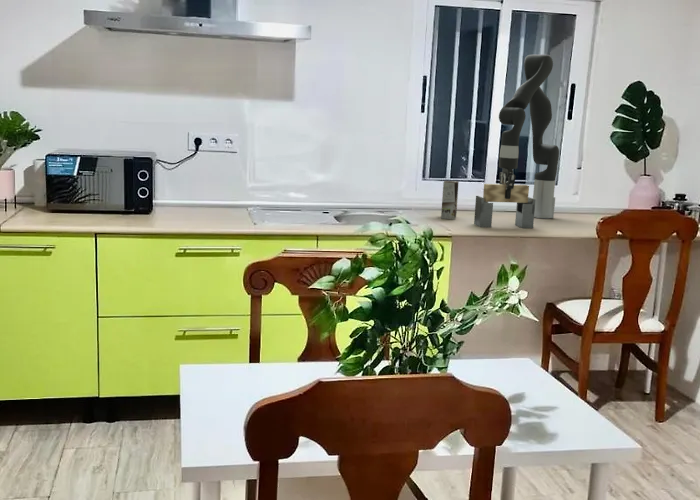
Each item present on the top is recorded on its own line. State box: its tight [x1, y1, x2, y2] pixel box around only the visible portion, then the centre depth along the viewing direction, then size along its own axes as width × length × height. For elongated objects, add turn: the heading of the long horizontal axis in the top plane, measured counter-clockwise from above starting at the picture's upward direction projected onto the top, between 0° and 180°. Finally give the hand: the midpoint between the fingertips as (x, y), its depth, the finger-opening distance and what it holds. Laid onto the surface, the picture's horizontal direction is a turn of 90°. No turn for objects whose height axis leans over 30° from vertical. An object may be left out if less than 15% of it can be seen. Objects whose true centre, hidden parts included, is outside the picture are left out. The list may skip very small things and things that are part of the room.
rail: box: [482, 183, 530, 204], centre depth 313 cm, size 18×4×7 cm, turn 97°
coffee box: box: [440, 180, 460, 220], centre depth 332 cm, size 9×6×16 cm
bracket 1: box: [473, 195, 494, 228], centre depth 313 cm, size 5×8×12 cm, turn 7°
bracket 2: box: [514, 196, 536, 229], centre depth 315 cm, size 5×8×12 cm, turn 7°
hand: (505, 197), depth 313 cm, fingers closed on rail, 4 cm apart
